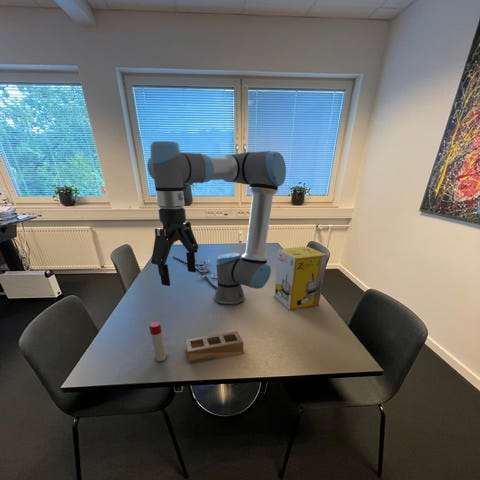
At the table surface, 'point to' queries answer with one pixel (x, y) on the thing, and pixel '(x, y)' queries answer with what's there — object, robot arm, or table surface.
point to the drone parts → (203, 268)
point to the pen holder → (214, 346)
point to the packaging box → (299, 277)
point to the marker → (157, 341)
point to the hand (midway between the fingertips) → (179, 277)
